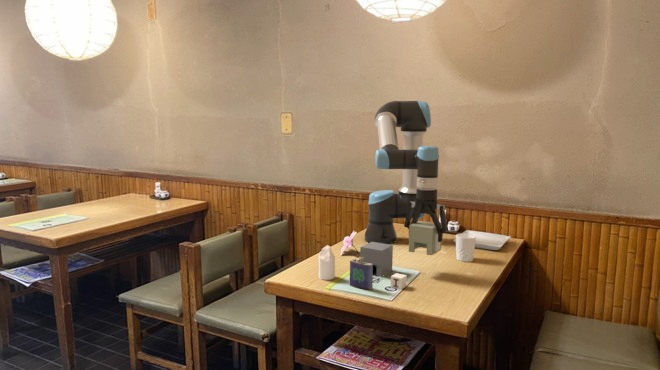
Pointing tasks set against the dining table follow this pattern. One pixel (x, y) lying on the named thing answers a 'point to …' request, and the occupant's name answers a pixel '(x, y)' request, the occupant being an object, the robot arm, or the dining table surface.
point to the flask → (361, 274)
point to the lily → (348, 242)
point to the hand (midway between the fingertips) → (424, 248)
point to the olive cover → (423, 236)
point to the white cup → (465, 247)
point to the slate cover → (378, 256)
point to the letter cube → (398, 281)
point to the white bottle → (326, 264)
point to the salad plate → (488, 240)
